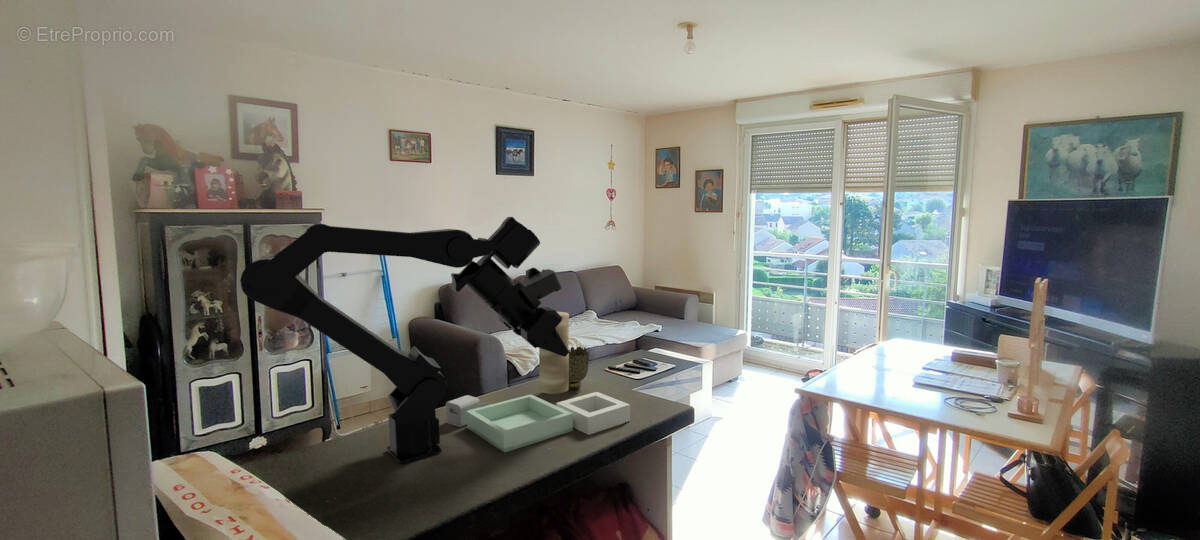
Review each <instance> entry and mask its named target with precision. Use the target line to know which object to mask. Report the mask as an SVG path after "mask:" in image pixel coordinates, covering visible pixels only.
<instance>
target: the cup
mask: <svg viewBox="0 0 1200 540" xmlns="http://www.w3.org/2000/svg"><path fill="white" fill-rule="evenodd" d="M590 352H591V350H590V349H588V351H587V348H586V347H581V346H577V347H576V348H575V347H574V346H571V347H570V348H569V389H568V390H570V391H571V390H572V391H573V390H578V389H580V388H581V385H582V381H583V380H585V378H586V376H587V374H588V370H589V362H590Z"/></svg>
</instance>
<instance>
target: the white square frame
mask: <svg viewBox="0 0 1200 540" xmlns="http://www.w3.org/2000/svg"><path fill="white" fill-rule="evenodd" d="M555 406H557V407H560V408H562V409H564V410H566V411H568V412H570V413H573V429H575V430H578V431H579V432H582V433H584V434H586V435H588V436H589V435H592V434H593V435H594V434H595V433H599V432H601V431H605V430H608V429H611V428H613V427H617V426H619V425H622V424H625V422H626V423H629V422H630V421H631V413H630V412H631V408H630V407H631V405H630V403H626V402H625V401H621V400H619V399H616V398H614V397H611V396H609V395H606V394H604V393H601V392H598V391H595V392H594V391H593V392H590V393H587V394H584V395H580V396H577V397H573V398H569V399H565V400H562V401H558V402H556V405H555ZM628 421H629V422H628Z"/></svg>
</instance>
